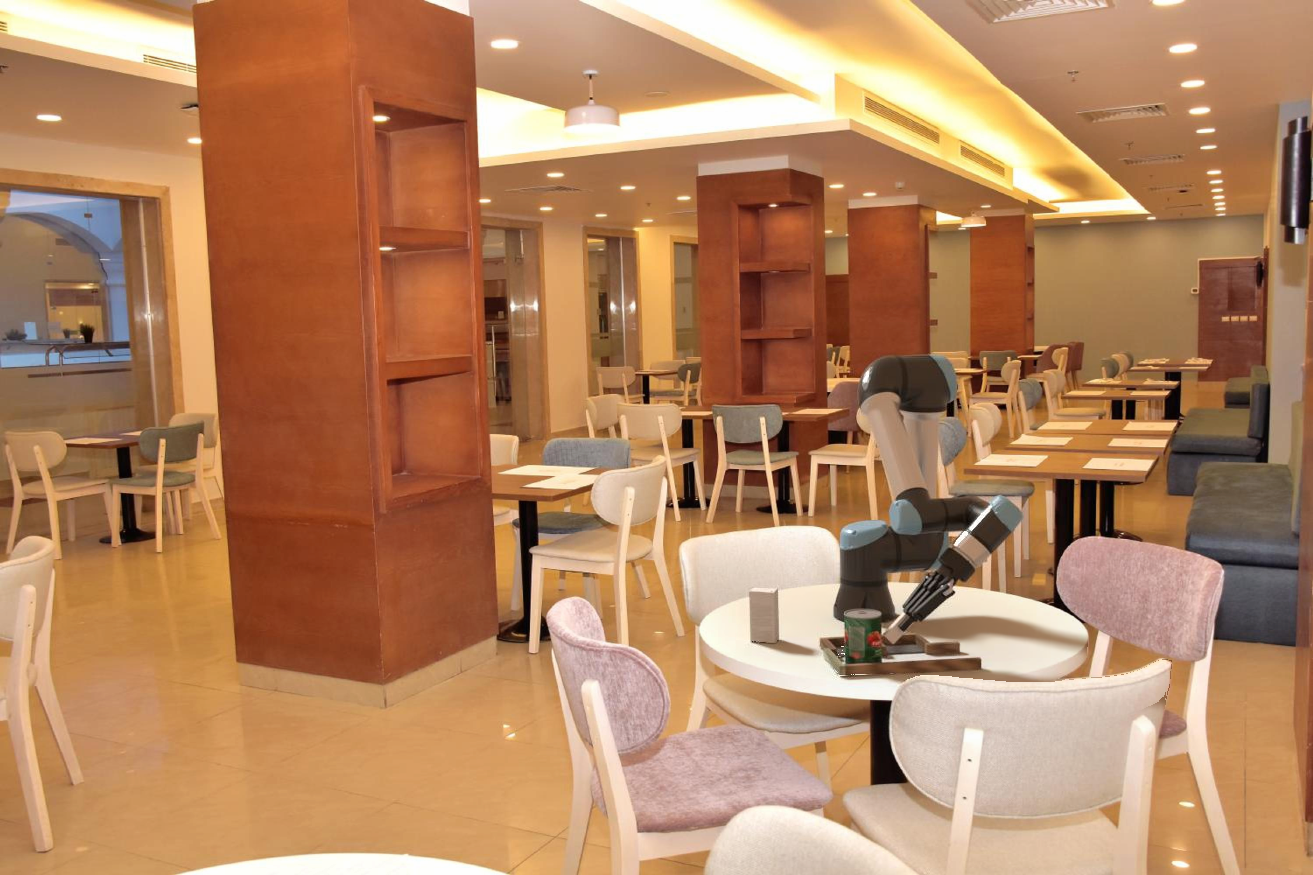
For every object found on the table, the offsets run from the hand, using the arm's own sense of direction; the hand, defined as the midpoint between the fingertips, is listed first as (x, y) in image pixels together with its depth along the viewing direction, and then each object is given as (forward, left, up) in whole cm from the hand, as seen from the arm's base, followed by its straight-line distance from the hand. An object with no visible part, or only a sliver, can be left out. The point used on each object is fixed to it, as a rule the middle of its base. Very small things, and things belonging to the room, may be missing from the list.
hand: (888, 639), depth 237 cm
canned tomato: (-4, -3, -6) cm, 8 cm away
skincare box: (-31, -4, -6) cm, 32 cm away
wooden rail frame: (-2, +5, -5) cm, 7 cm away
